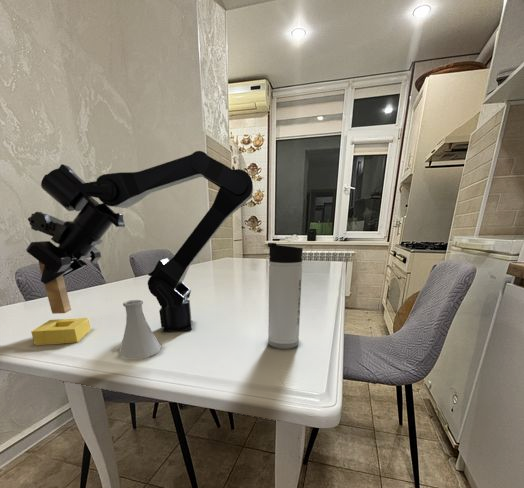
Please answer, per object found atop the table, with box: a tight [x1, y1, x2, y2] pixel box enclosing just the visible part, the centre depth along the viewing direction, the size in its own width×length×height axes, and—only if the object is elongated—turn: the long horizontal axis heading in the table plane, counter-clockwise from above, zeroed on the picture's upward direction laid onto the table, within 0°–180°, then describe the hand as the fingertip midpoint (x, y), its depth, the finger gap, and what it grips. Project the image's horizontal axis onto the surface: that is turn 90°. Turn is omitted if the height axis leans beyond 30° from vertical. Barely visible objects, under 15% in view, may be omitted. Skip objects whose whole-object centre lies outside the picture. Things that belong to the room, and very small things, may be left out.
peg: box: [38, 261, 72, 315], centre depth 65 cm, size 3×3×13 cm
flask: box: [118, 299, 162, 360], centre depth 54 cm, size 7×7×10 cm
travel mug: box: [267, 242, 304, 350], centre depth 57 cm, size 6×7×20 cm
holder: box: [30, 317, 92, 346], centre depth 63 cm, size 8×8×3 cm
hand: (47, 281), depth 64 cm, fingers closed on peg, 3 cm apart
